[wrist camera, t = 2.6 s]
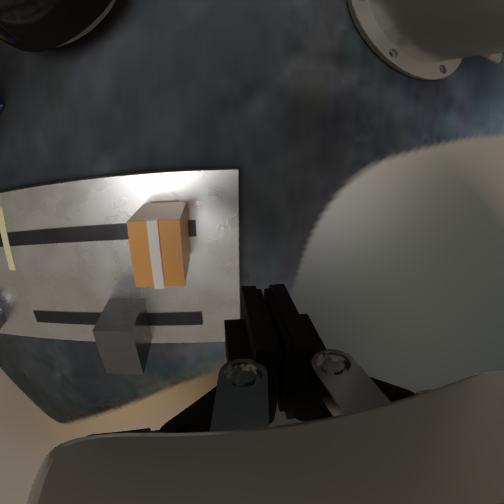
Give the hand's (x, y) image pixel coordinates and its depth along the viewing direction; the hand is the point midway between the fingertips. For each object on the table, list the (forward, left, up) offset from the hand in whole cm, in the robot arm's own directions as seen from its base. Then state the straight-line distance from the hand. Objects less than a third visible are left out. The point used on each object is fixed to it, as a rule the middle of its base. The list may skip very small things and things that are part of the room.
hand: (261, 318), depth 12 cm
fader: (+5, -1, -10) cm, 12 cm away
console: (+14, +2, -13) cm, 19 cm away
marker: (+20, -1, -11) cm, 23 cm away
